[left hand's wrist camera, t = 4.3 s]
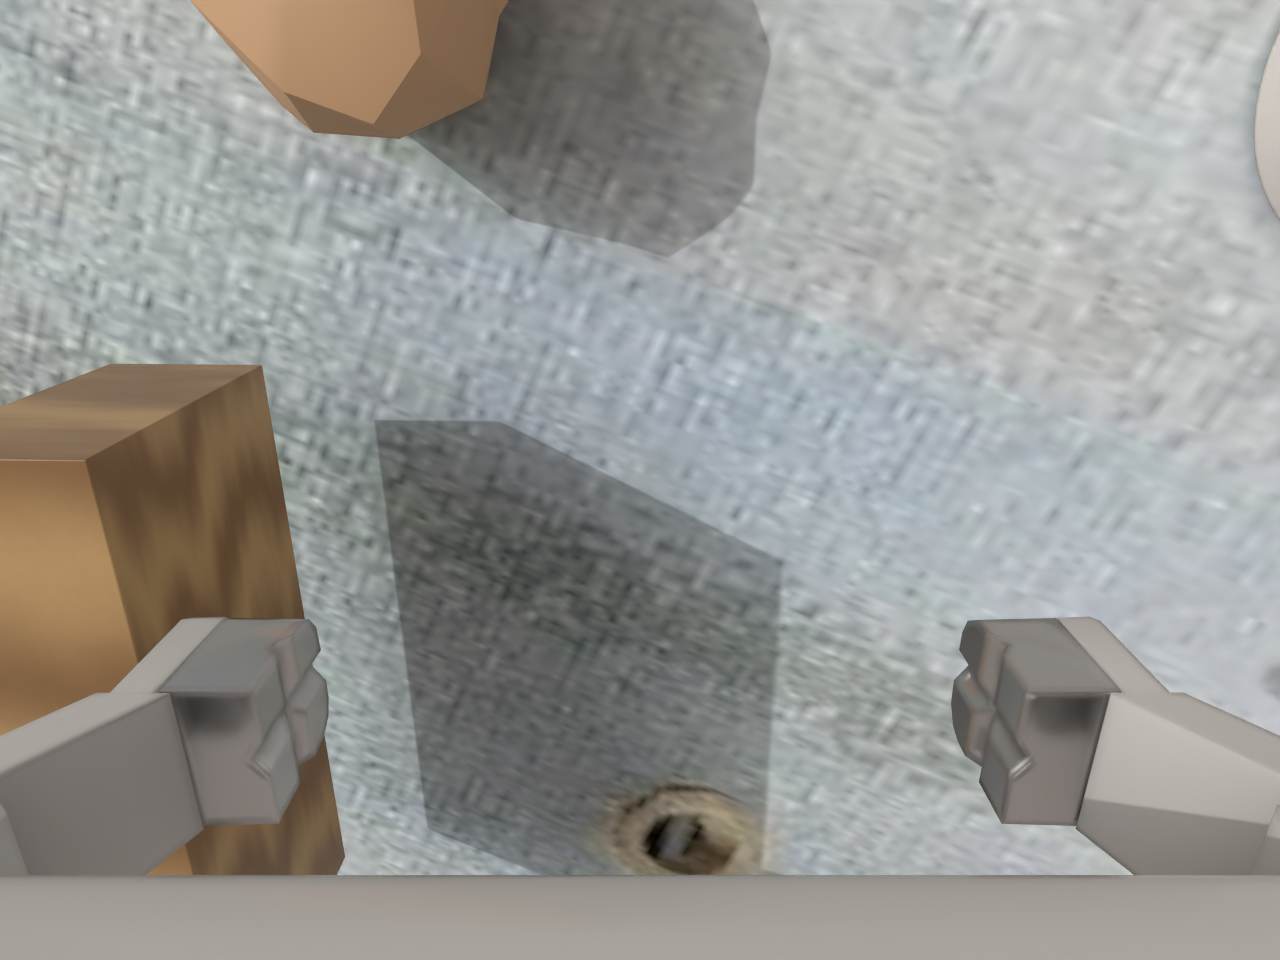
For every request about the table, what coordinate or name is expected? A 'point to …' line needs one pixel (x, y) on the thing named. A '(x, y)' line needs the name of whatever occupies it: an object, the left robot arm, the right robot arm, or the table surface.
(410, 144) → the table surface
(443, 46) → the squash
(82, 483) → the box
